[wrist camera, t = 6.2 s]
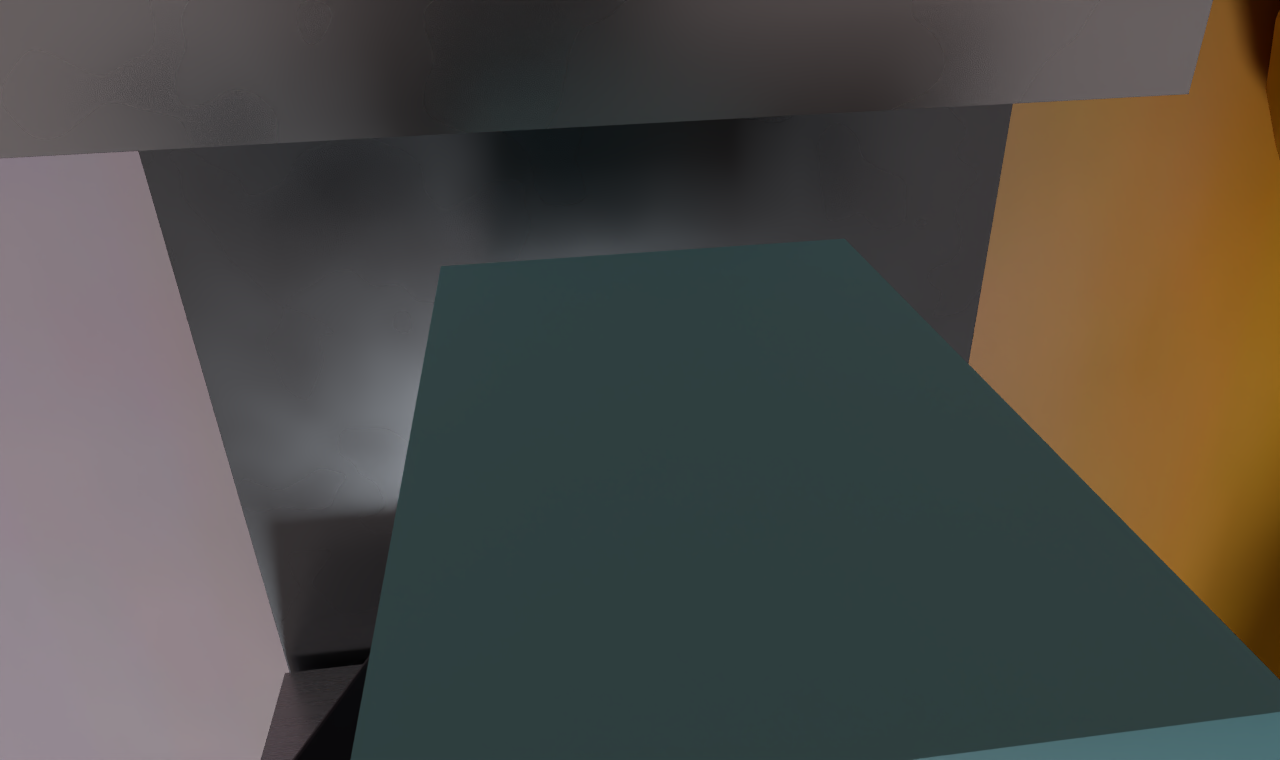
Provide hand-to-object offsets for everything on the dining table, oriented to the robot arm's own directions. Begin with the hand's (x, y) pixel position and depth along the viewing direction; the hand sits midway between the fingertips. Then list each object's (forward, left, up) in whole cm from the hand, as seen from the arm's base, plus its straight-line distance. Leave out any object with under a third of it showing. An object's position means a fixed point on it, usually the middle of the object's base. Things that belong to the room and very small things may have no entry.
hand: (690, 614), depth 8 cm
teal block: (0, 0, -2) cm, 2 cm away
